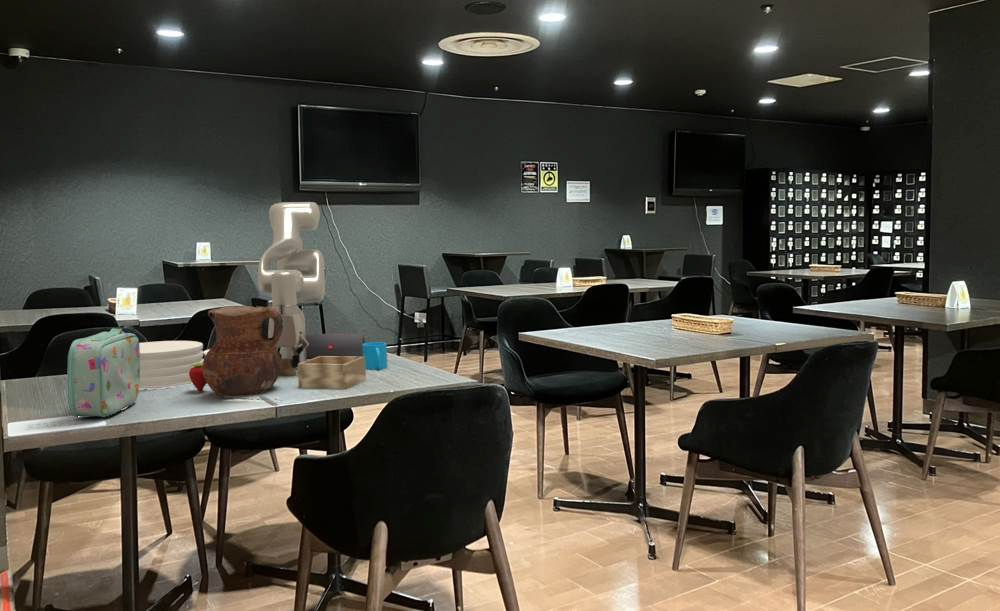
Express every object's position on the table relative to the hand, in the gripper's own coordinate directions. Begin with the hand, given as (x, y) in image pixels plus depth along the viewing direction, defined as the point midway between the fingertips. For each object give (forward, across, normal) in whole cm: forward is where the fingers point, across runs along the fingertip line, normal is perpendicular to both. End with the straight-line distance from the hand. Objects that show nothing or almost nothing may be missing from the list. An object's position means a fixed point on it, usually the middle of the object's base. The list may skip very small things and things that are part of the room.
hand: (287, 366), depth 265 cm
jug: (+4, -1, -26) cm, 26 cm away
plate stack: (+4, -39, -11) cm, 41 cm away
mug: (+4, +22, +20) cm, 30 cm away
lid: (+5, 0, 0) cm, 5 cm away
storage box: (+4, +21, -13) cm, 25 cm away
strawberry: (+4, -16, -24) cm, 29 cm away
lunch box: (+4, -26, -52) cm, 58 cm away
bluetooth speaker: (+4, +1, +34) cm, 35 cm away
